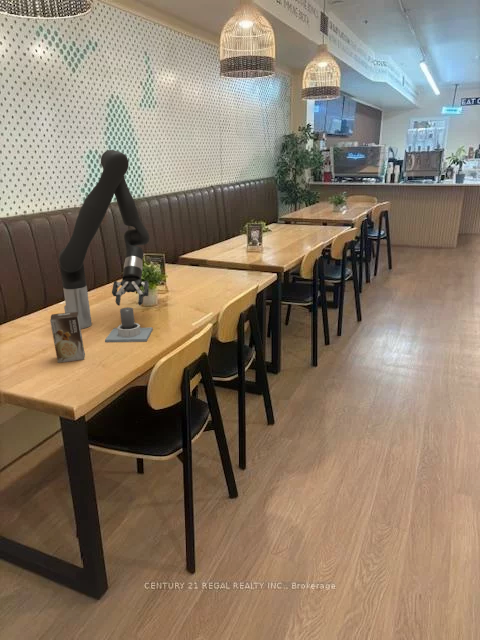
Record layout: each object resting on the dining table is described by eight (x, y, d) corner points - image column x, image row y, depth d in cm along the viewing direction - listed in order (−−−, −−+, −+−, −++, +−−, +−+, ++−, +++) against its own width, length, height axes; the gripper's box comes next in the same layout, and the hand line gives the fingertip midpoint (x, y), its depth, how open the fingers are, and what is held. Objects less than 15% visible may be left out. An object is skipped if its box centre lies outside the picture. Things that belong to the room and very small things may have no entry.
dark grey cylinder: (121, 335, 181) (118, 311, 178) (124, 331, 186) (121, 307, 182) (134, 335, 181) (131, 311, 178) (136, 330, 186) (134, 307, 182)
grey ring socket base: (105, 342, 178) (103, 332, 176) (114, 330, 190) (112, 321, 189) (146, 341, 178) (145, 331, 176) (152, 329, 190) (151, 320, 189)
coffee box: (85, 353, 168) (79, 311, 163) (84, 359, 162) (78, 316, 157) (58, 356, 166) (51, 313, 161) (56, 363, 160) (49, 319, 155)
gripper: (113, 265, 188) (108, 300, 181) (148, 264, 187) (144, 300, 180) (118, 274, 194) (113, 309, 187) (151, 274, 194) (148, 308, 187)
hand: (128, 304), depth 184 cm, fingers open, 8 cm apart
